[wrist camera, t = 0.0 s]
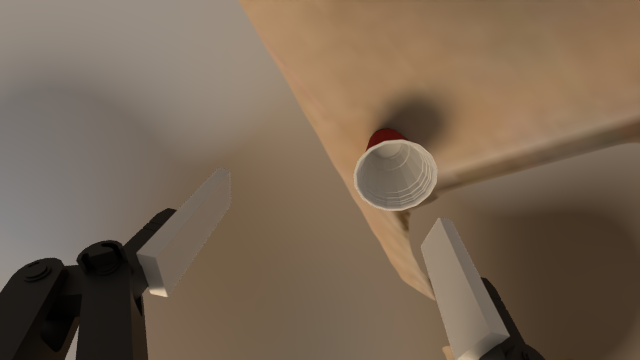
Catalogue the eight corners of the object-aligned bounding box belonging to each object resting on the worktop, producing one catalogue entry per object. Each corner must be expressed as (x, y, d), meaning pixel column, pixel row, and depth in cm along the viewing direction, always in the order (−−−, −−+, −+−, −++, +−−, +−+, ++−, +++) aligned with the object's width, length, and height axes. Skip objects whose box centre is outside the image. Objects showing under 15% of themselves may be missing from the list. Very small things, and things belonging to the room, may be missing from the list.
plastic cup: (393, 98, 38) (407, 123, 28) (429, 146, 41) (454, 184, 31) (340, 139, 42) (336, 174, 32) (377, 179, 46) (384, 222, 36)
